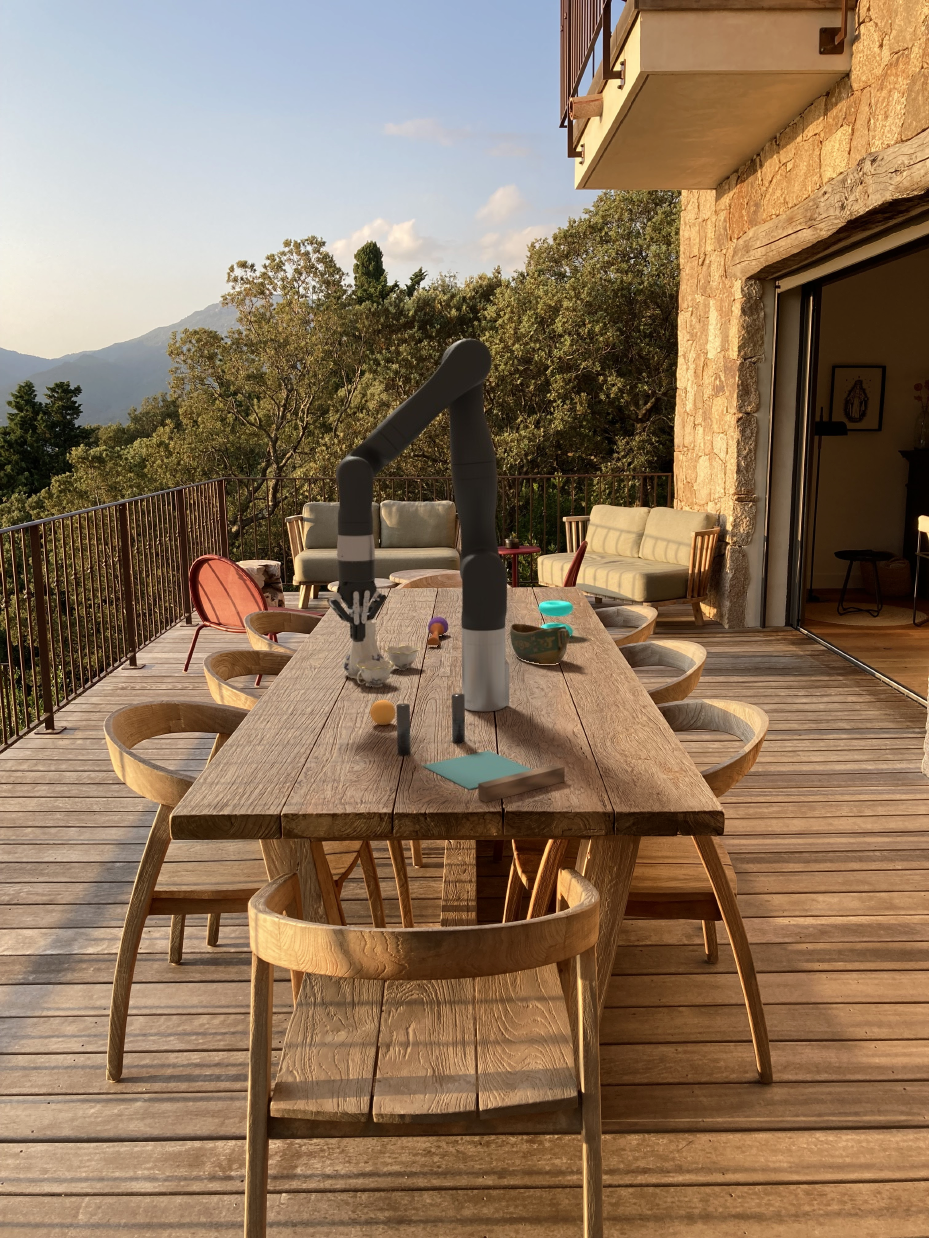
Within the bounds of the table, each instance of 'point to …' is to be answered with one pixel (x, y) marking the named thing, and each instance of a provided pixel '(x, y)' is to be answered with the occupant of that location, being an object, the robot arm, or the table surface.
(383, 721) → the ball
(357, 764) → the table surface
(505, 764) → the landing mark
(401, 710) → the post
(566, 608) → the donuts
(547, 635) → the cup
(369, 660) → the chinaware
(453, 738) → the post
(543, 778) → the stopper
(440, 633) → the kendama
